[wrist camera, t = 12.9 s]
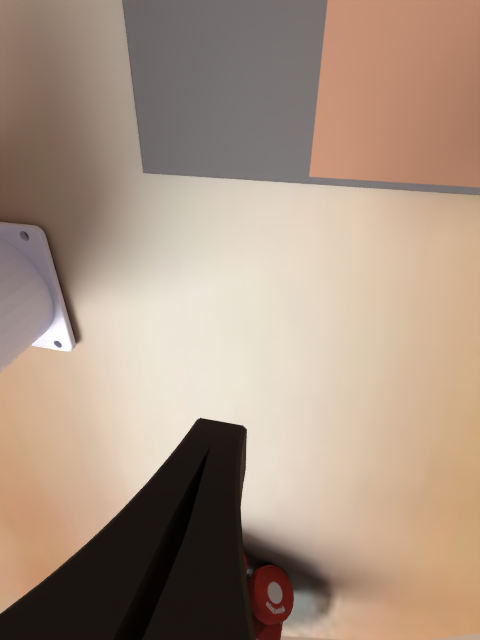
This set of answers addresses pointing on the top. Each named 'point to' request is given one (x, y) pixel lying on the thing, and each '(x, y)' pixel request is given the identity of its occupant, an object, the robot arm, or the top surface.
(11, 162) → the top surface
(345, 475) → the top surface
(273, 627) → the toy fire truck
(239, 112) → the mat
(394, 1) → the block
